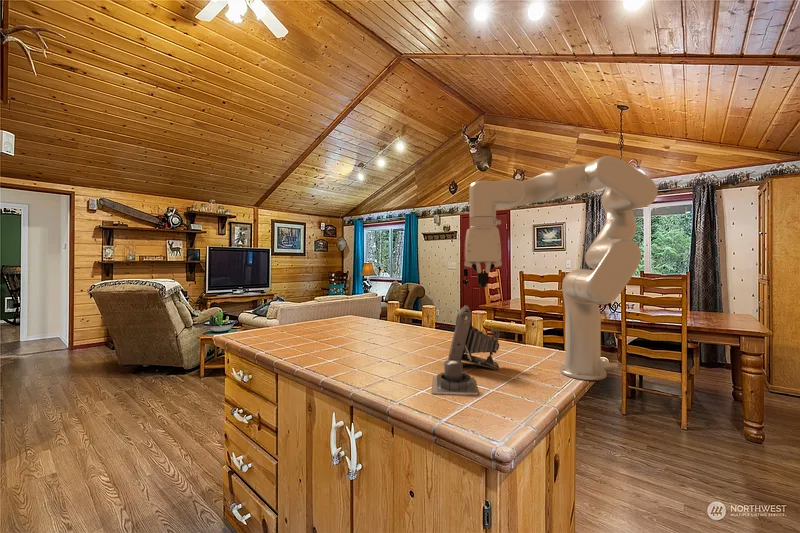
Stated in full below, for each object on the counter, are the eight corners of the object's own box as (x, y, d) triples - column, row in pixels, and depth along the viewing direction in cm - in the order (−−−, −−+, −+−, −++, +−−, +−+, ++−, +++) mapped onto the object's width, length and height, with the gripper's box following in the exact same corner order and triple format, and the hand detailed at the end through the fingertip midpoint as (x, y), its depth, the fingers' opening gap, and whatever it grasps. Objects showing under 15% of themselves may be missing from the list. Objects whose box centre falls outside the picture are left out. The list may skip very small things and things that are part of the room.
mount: (473, 379, 104) (473, 370, 104) (477, 395, 92) (477, 385, 92) (432, 378, 106) (432, 369, 106) (431, 393, 94) (431, 384, 94)
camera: (496, 383, 111) (513, 321, 110) (443, 366, 114) (459, 306, 113) (494, 372, 122) (509, 316, 121) (446, 357, 125) (460, 302, 124)
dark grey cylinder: (462, 381, 101) (462, 359, 101) (463, 387, 96) (463, 365, 96) (444, 380, 102) (444, 359, 102) (444, 387, 97) (444, 364, 97)
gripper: (506, 224, 107) (506, 285, 108) (456, 225, 109) (456, 285, 110) (511, 222, 100) (511, 287, 100) (457, 223, 102) (457, 287, 102)
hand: (483, 286), depth 105 cm, fingers closed
